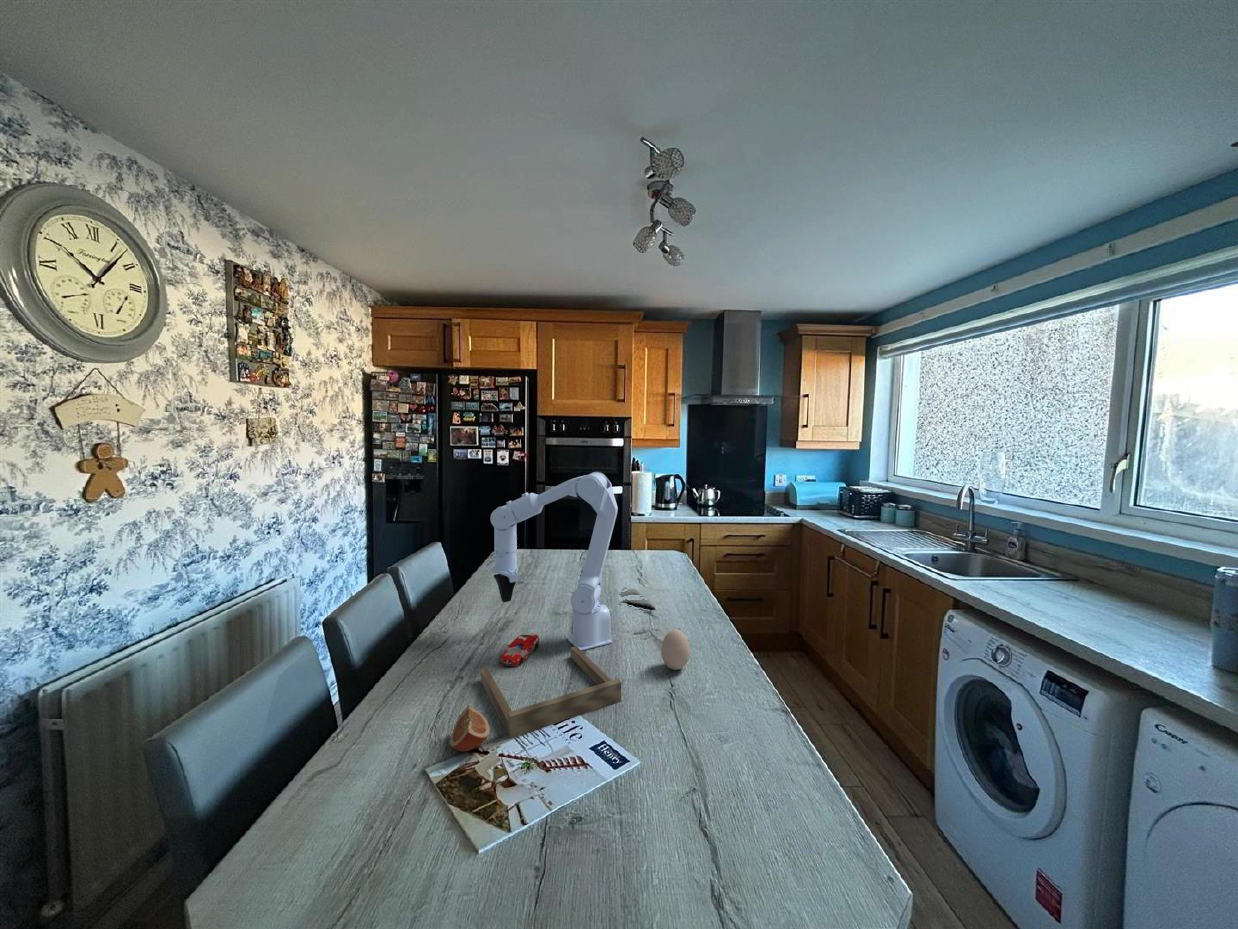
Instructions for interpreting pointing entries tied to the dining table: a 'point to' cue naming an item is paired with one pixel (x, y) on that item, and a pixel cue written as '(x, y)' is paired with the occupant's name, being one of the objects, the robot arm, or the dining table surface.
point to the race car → (520, 649)
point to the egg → (675, 650)
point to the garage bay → (555, 700)
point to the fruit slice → (469, 730)
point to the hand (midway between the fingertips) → (506, 601)
